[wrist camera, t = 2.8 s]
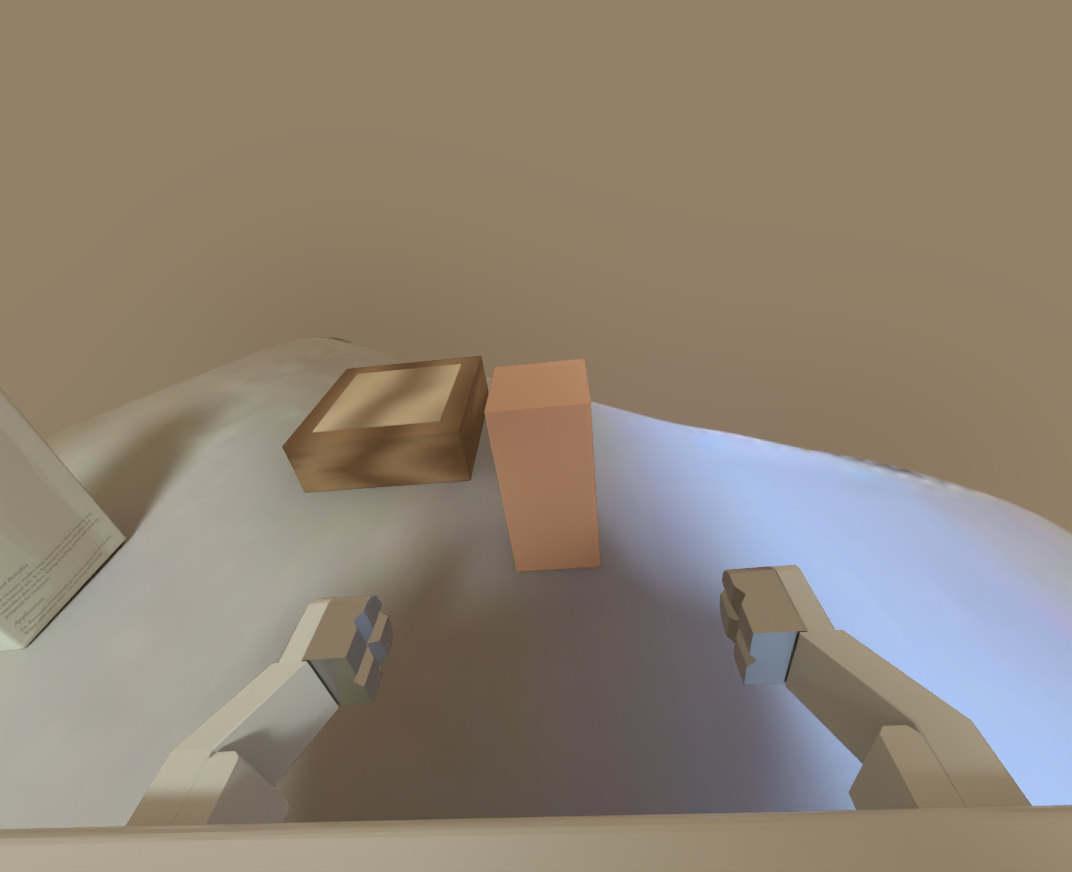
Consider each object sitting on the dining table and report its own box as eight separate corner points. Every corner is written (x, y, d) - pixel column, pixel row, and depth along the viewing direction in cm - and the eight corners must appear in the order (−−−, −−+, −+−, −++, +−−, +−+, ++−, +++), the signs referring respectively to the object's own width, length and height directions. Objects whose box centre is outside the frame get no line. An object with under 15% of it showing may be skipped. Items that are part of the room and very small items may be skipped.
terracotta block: (516, 571, 25) (484, 412, 20) (520, 514, 29) (494, 367, 24) (600, 567, 25) (590, 403, 20) (593, 509, 29) (584, 358, 23)
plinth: (305, 492, 34) (281, 445, 31) (361, 408, 44) (346, 367, 41) (470, 480, 33) (457, 430, 30) (489, 396, 43) (481, 354, 40)
